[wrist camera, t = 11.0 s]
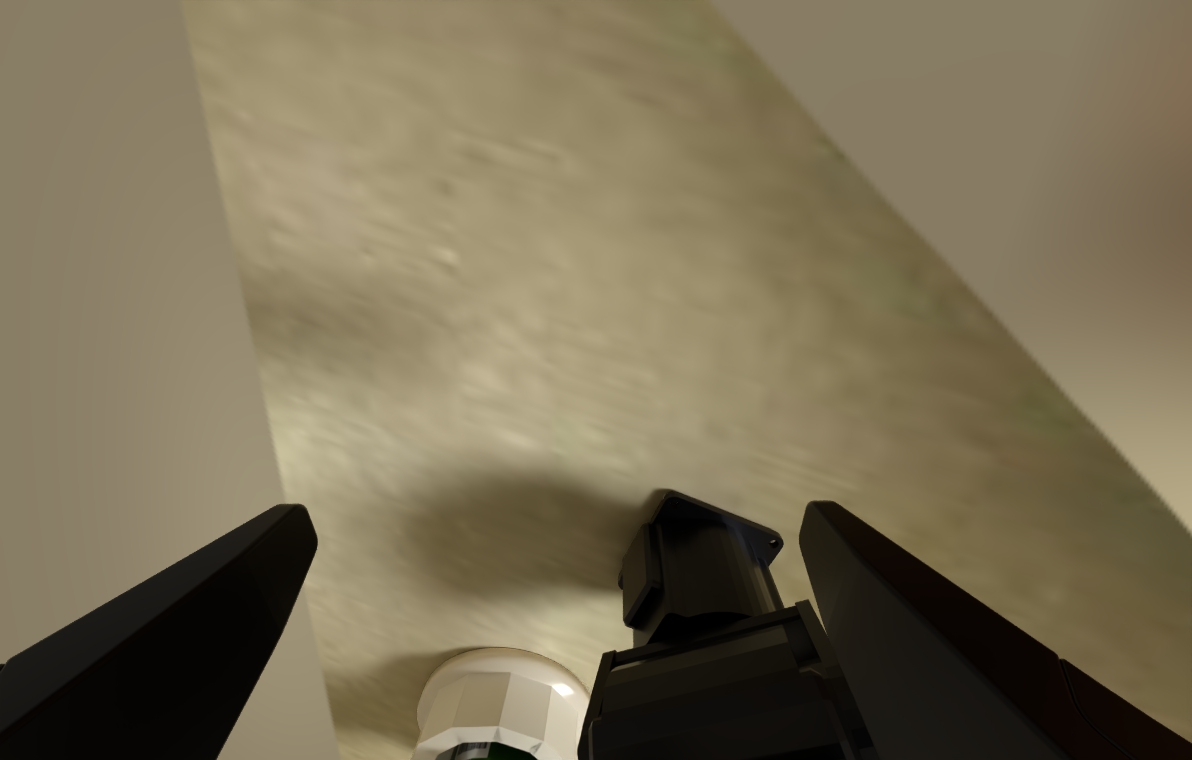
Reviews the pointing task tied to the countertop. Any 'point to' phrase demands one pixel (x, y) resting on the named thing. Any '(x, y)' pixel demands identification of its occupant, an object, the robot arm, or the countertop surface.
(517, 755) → the beer can
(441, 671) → the can holder
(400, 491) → the countertop surface
